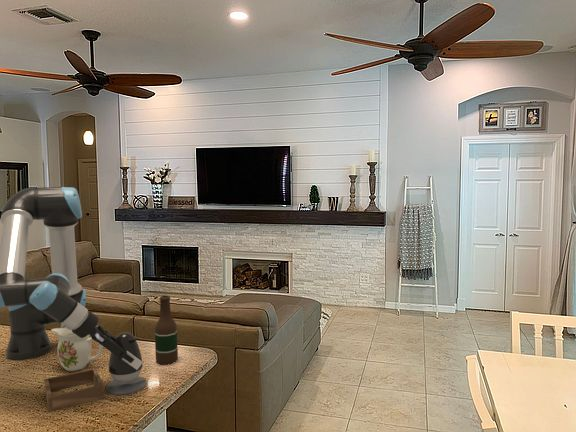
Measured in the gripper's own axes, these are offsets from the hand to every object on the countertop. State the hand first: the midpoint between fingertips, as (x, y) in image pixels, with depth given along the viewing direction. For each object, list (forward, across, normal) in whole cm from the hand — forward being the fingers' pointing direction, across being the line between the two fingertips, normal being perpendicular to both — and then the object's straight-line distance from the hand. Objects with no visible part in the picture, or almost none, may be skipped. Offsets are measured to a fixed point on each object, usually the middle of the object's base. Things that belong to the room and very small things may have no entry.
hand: (135, 360), depth 147 cm
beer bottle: (+16, -13, +4) cm, 21 cm away
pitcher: (-4, -25, -16) cm, 30 cm away
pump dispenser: (+2, 0, -6) cm, 6 cm away
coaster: (+3, 0, -8) cm, 8 cm away
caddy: (-7, -3, -18) cm, 20 cm away
